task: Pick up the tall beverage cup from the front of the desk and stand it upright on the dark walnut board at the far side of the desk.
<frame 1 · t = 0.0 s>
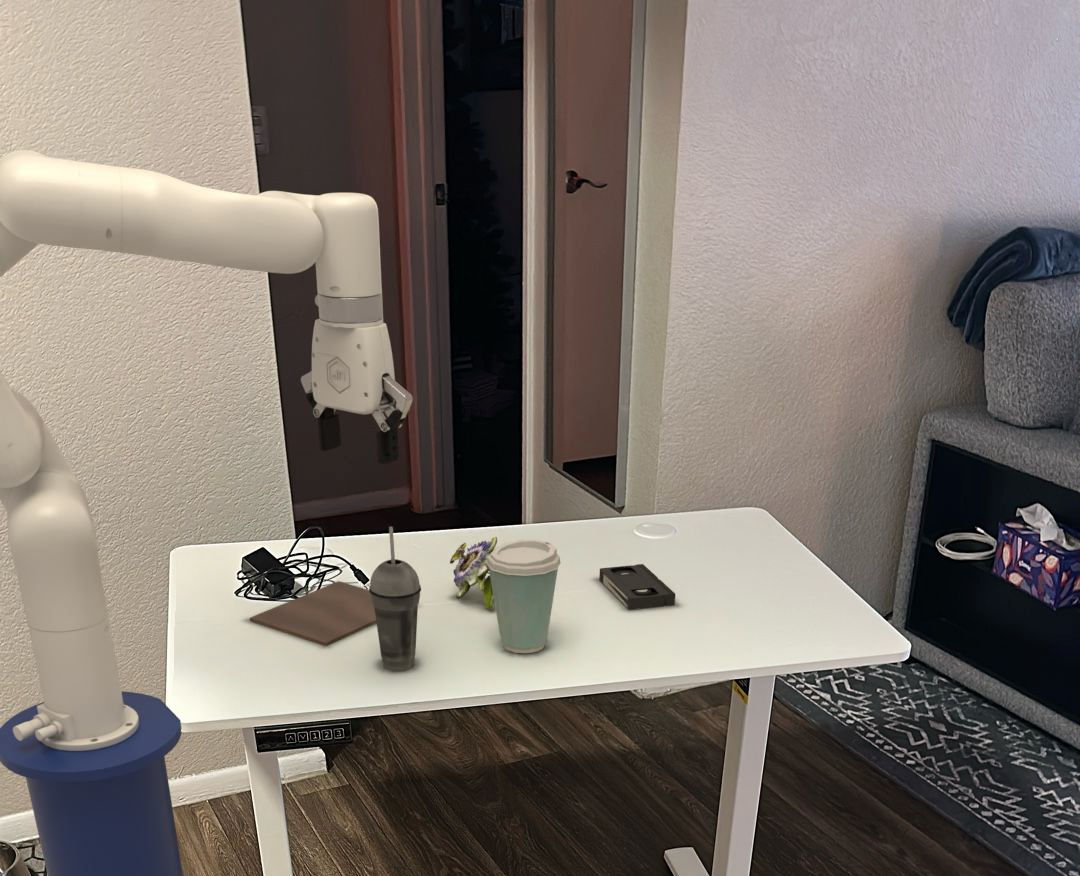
hand: (359, 454, 160), 32 cm above the table, tool pointing down, fingers open, 9 cm apart
disposable coffee cup: (522, 646, 191), on the table
beverage cup: (398, 666, 184), on the table
walnut board: (332, 613, 200), on the table
passion flower: (486, 598, 207), on the table
vhs tape: (635, 593, 210), on the table
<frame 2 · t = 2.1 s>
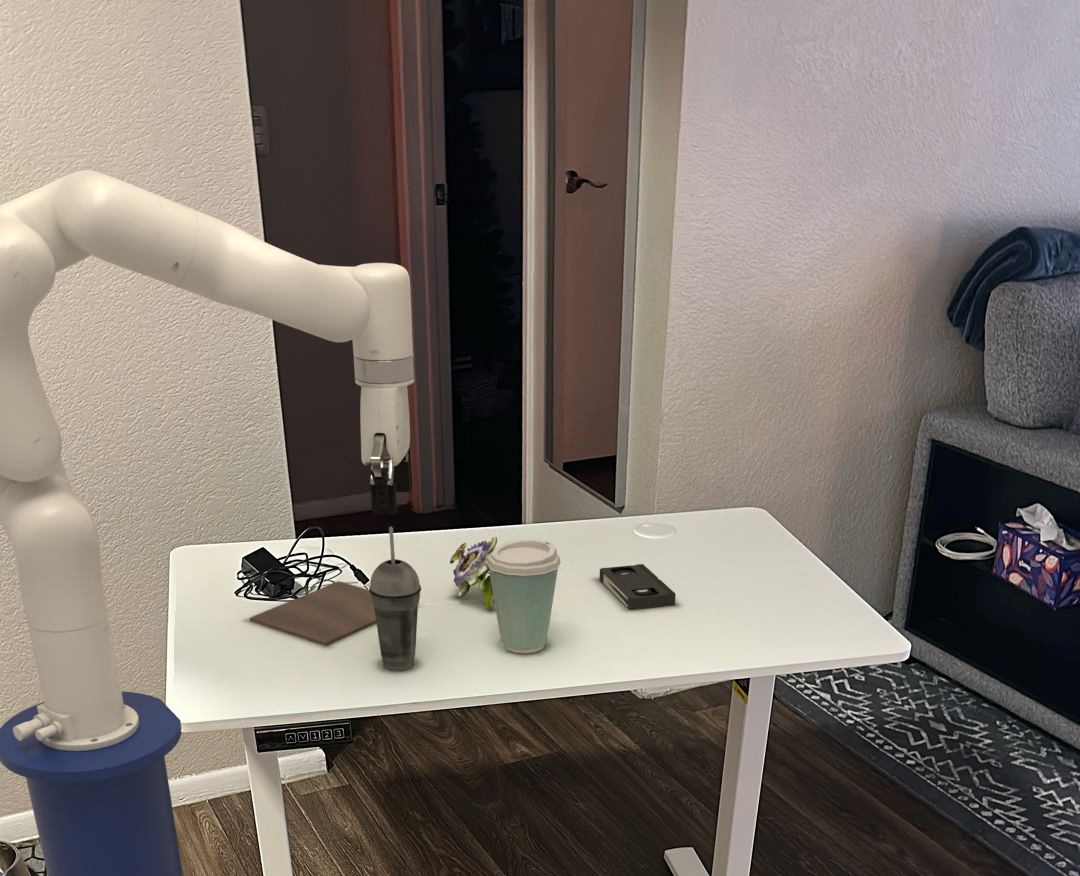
hand: (391, 502, 172), 24 cm above the table, tool pointing down, fingers open, 9 cm apart
nothing on the table moved.
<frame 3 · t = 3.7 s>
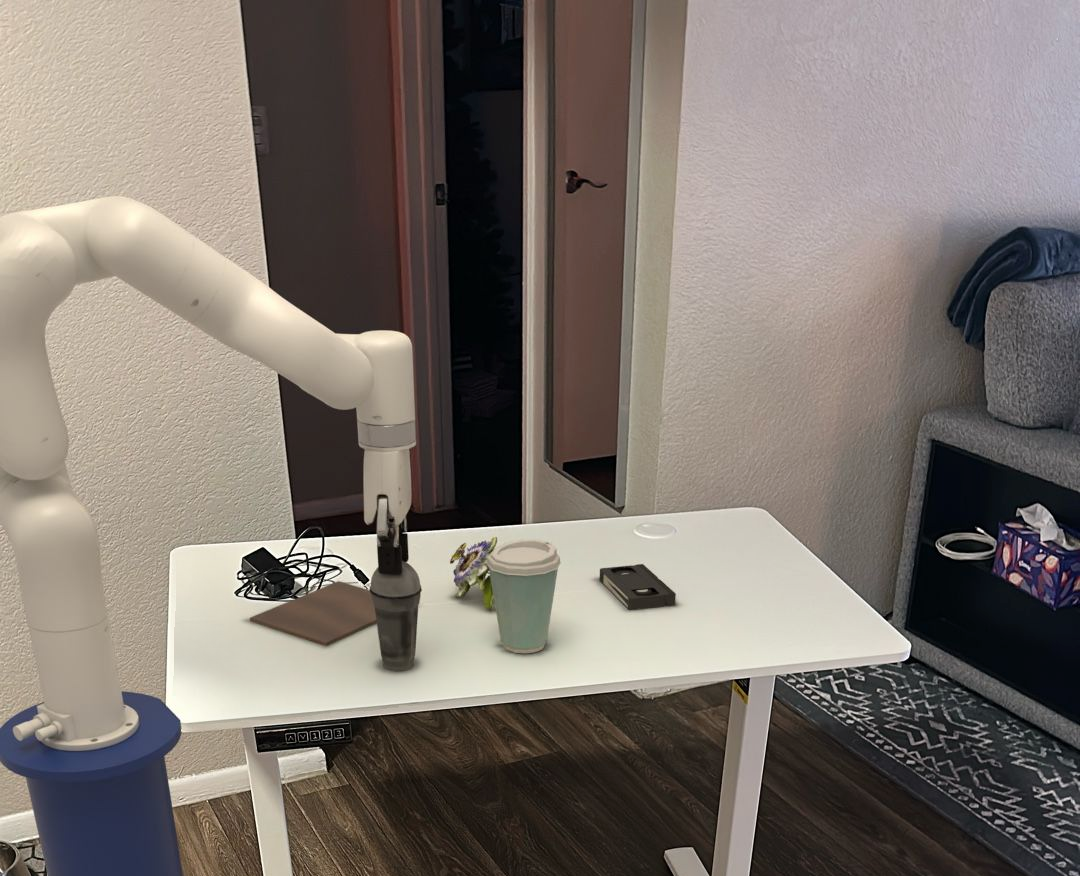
hand: (393, 566, 176), 15 cm above the table, tool pointing down, fingers closed on beverage cup, 4 cm apart
beverage cup: (398, 666, 184), on the table, touching gripper
everything else where it was.
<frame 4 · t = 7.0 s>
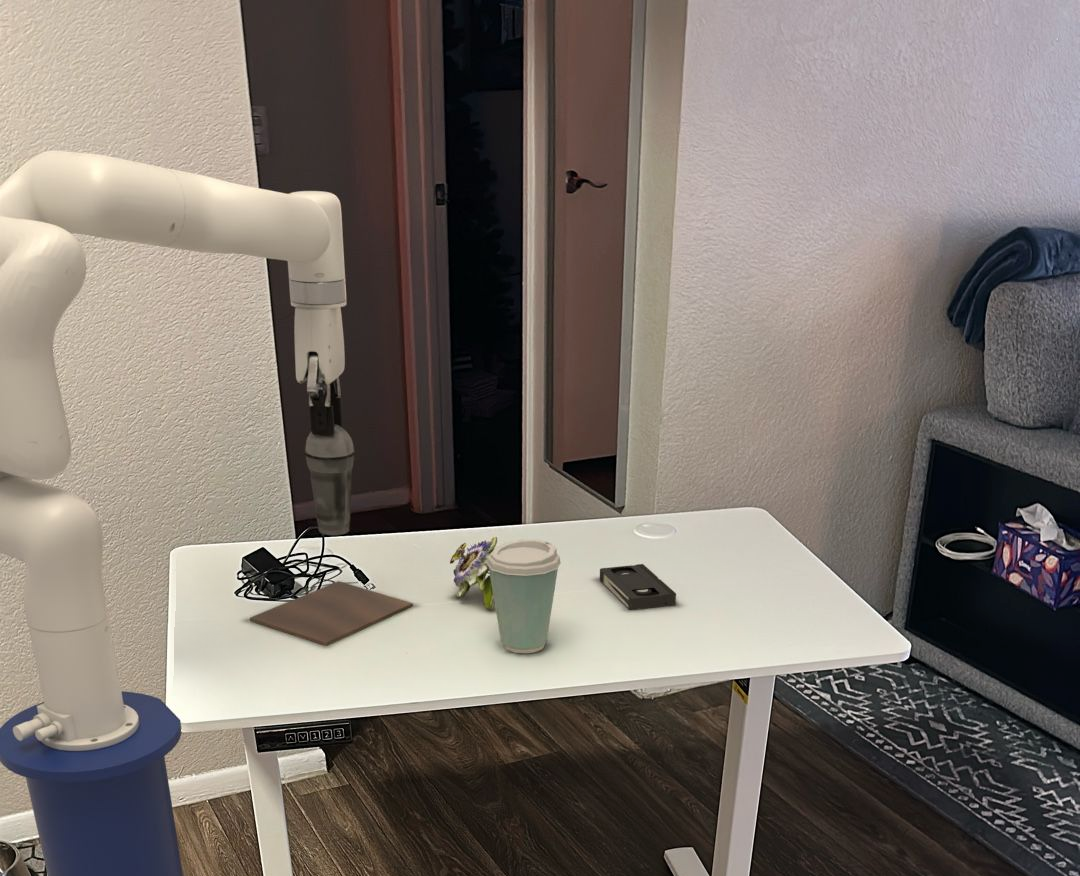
hand: (327, 428, 183), 29 cm above the table, tool pointing down, fingers closed on beverage cup, 4 cm apart
beverage cup: (334, 531, 191), point 14 cm above the table, touching gripper
everything else where it was.
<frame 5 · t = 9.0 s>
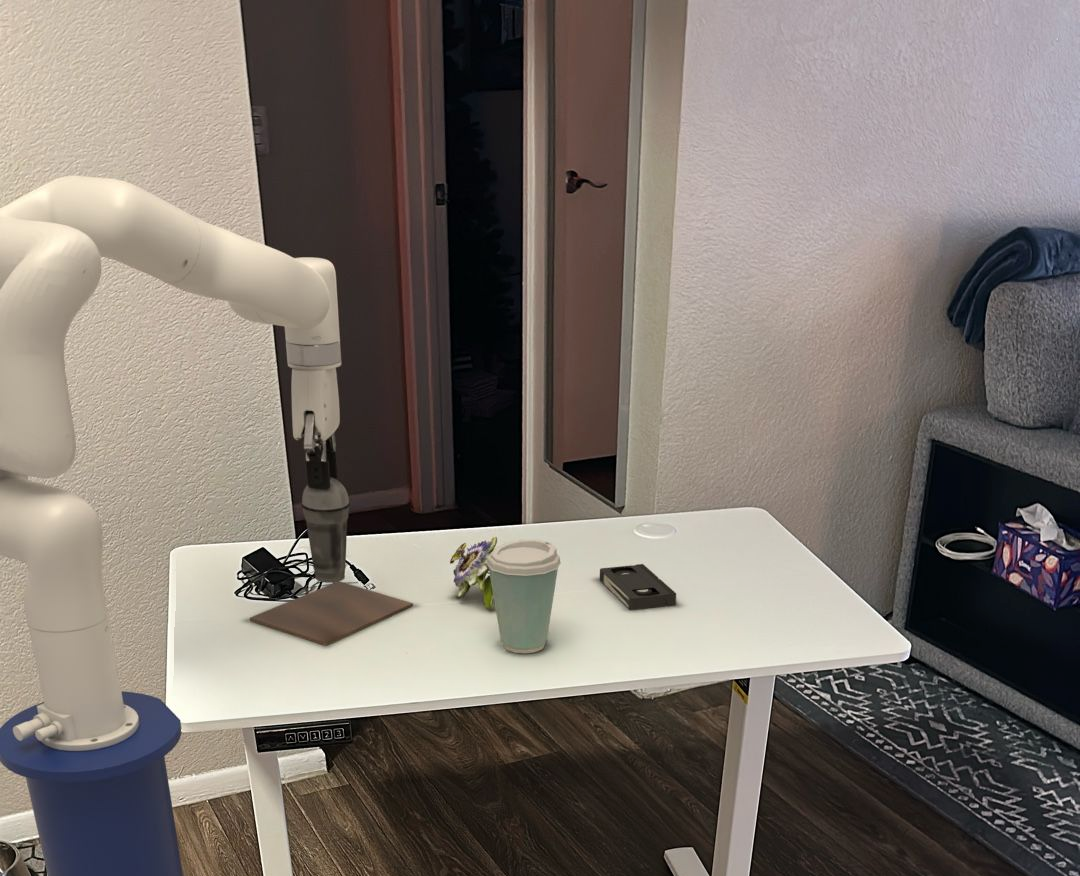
hand: (323, 481, 190), 21 cm above the table, tool pointing down, fingers closed on beverage cup, 4 cm apart
beverage cup: (330, 578, 198), point 6 cm above the table, touching gripper
everything else where it was.
when the fingers open (15 cm above the table, at t = 10.6 s): beverage cup stays where it is, resting on walnut board.
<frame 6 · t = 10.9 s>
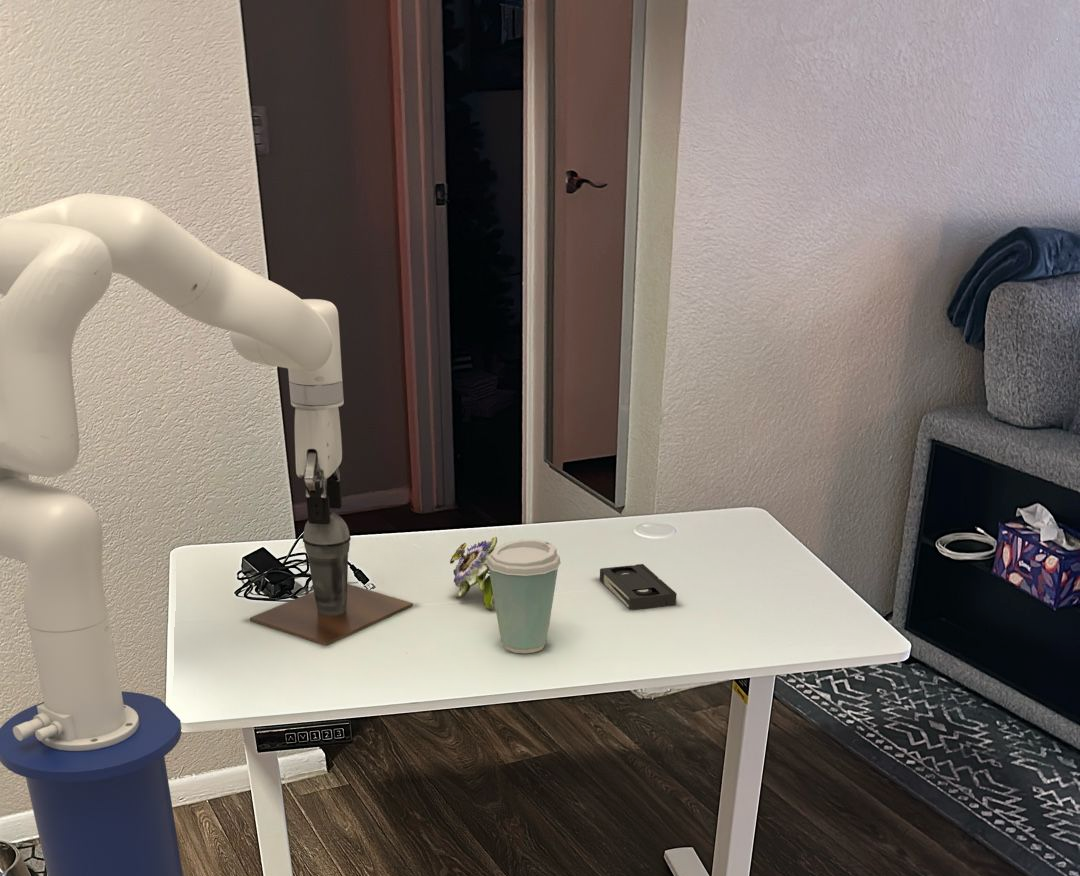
hand: (325, 514, 192), 16 cm above the table, tool pointing down, fingers open, 6 cm apart
beverage cup: (332, 611, 200), resting on walnut board
everything else where it was.
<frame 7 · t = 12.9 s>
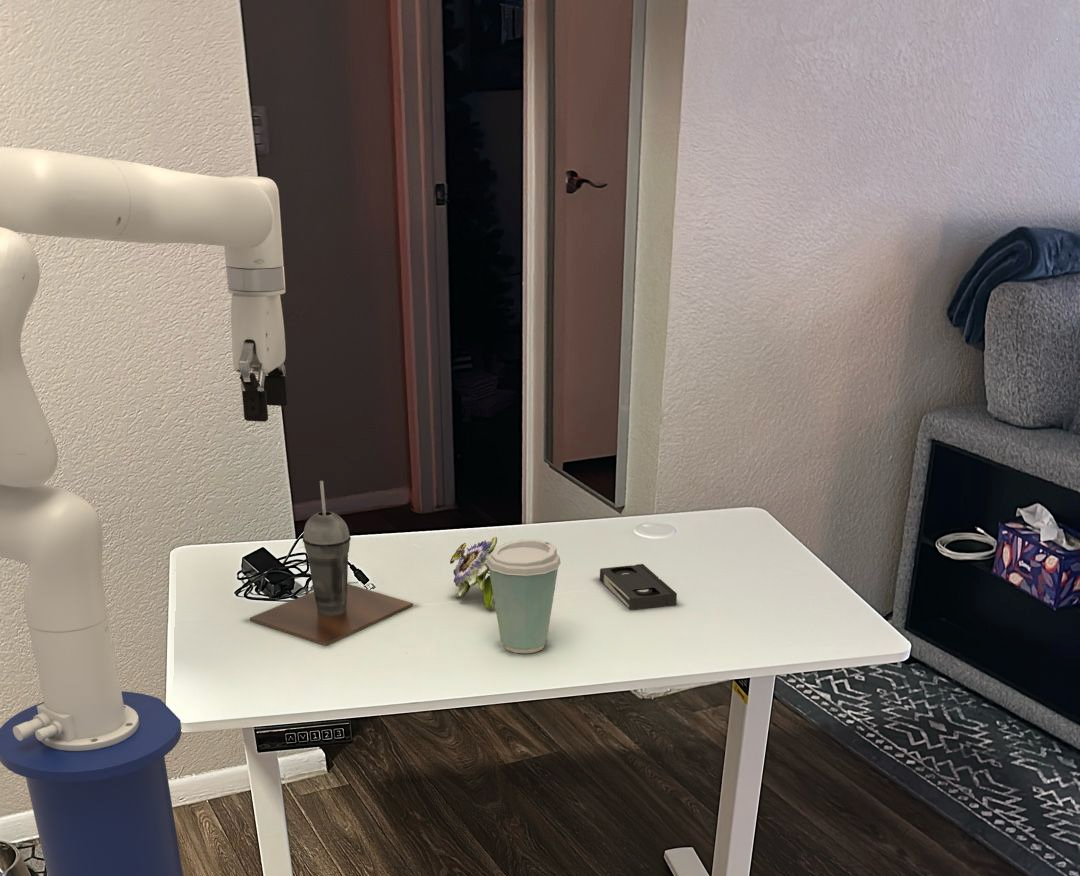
hand: (266, 412, 179), 32 cm above the table, tool pointing down, fingers open, 9 cm apart
nothing on the table moved.
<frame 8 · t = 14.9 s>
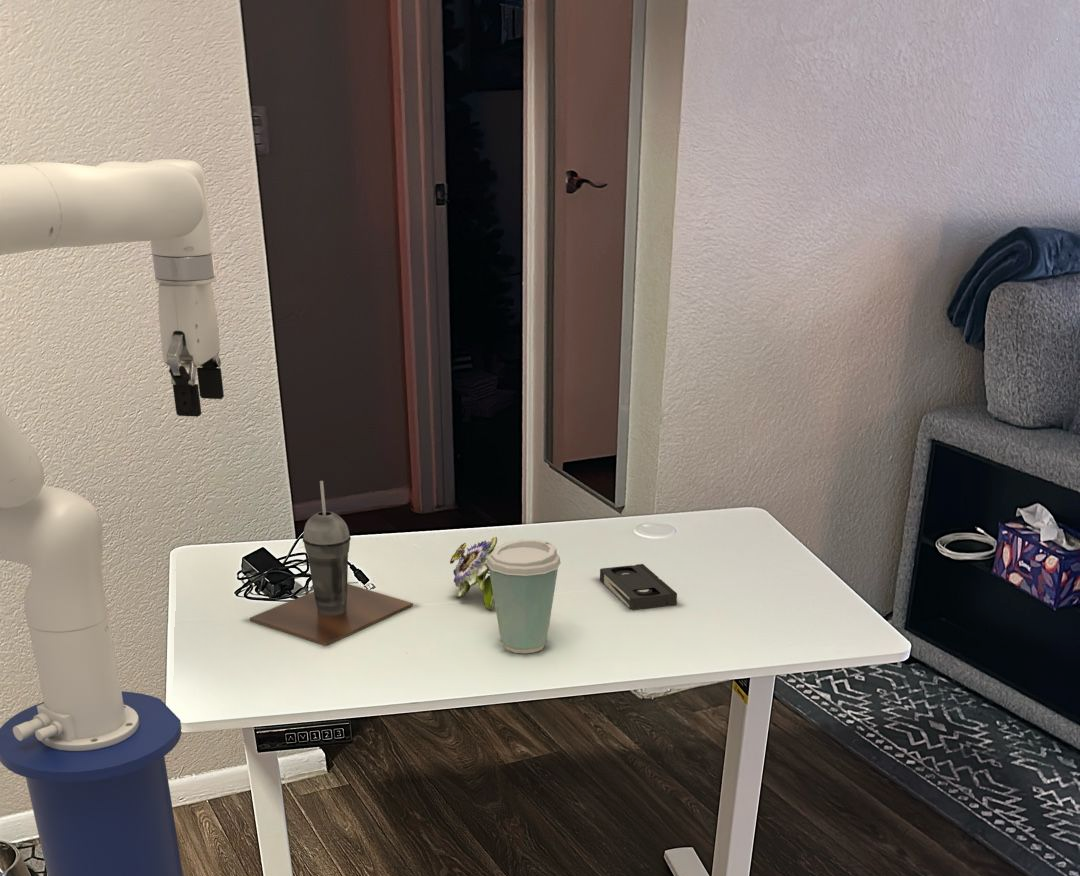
hand: (200, 406, 172), 34 cm above the table, tool pointing down, fingers open, 9 cm apart
nothing on the table moved.
at the end: beverage cup inside the target area on the walnut board (0.1 cm from its centre), point 0.3 cm above the walnut board's base; beverage cup tilted 0°; the gripper is holding nothing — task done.
